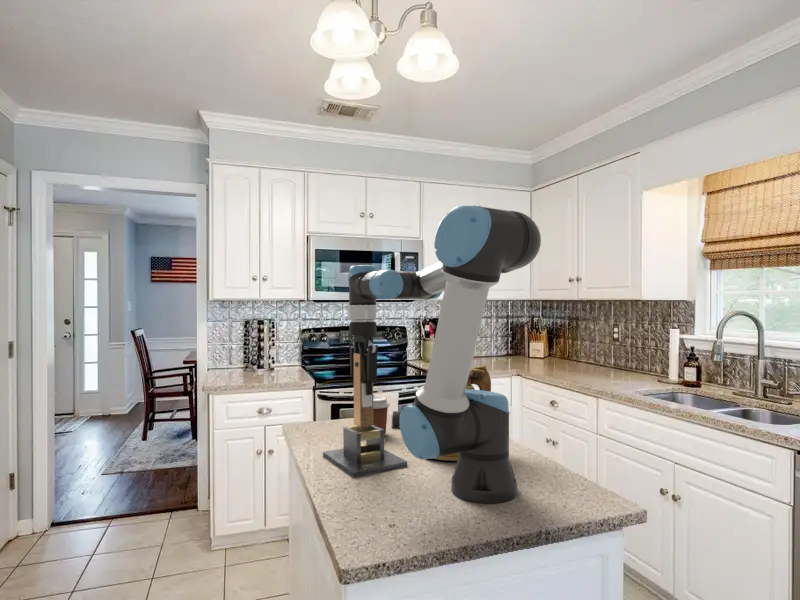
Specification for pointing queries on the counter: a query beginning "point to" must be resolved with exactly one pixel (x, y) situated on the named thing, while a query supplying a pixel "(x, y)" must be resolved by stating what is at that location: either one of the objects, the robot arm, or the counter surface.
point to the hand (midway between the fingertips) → (363, 404)
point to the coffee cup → (380, 412)
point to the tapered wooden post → (360, 396)
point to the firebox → (363, 452)
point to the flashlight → (396, 418)
